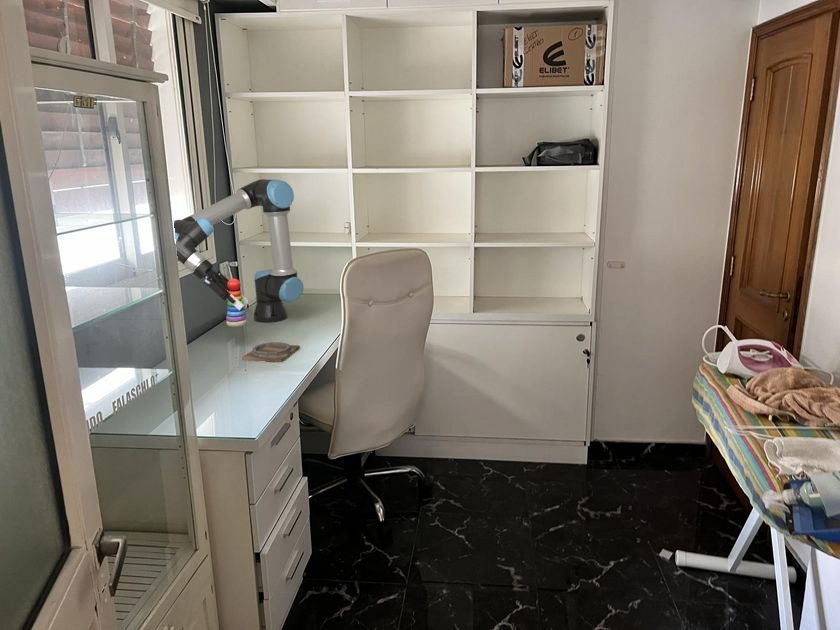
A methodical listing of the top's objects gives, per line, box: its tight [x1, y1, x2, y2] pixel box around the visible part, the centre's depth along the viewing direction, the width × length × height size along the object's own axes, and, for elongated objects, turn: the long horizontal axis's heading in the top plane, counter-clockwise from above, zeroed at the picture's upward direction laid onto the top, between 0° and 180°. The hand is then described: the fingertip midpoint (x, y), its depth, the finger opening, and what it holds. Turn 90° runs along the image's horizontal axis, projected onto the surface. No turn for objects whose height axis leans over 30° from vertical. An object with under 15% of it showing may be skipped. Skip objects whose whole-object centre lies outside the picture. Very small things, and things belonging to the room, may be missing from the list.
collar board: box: [241, 341, 301, 363], centre depth 250 cm, size 18×16×3 cm
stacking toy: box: [226, 278, 248, 327], centre depth 255 cm, size 8×8×19 cm
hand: (244, 305), depth 255 cm, fingers closed on stacking toy, 6 cm apart
